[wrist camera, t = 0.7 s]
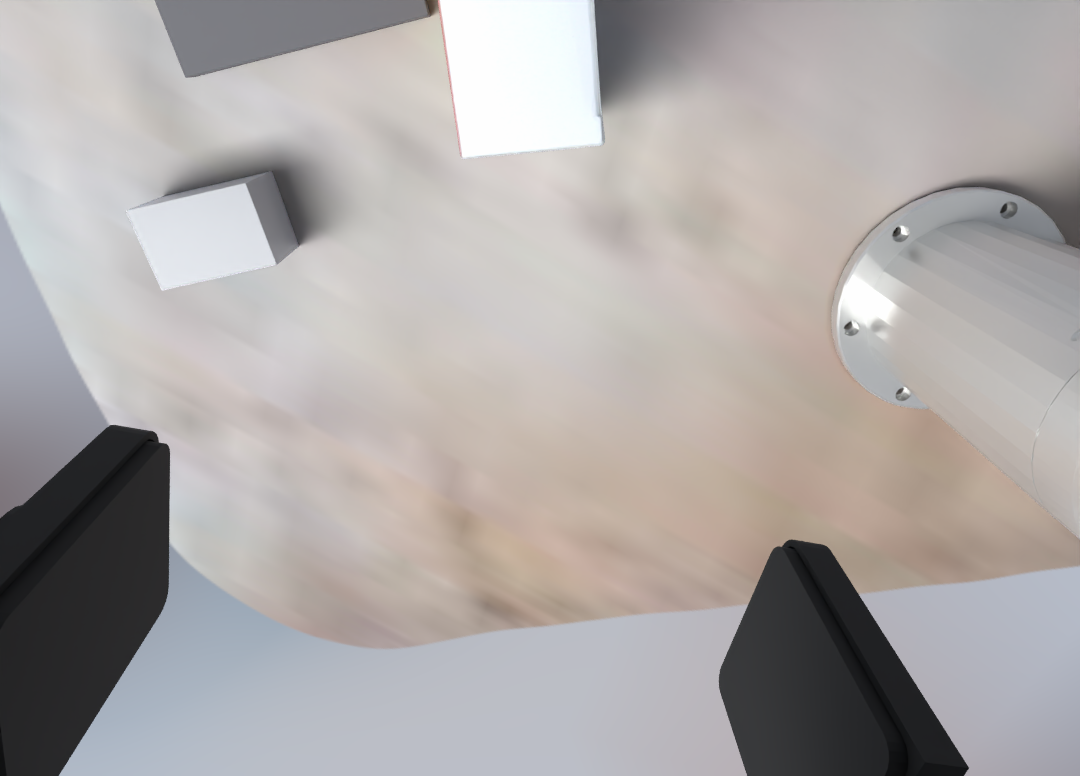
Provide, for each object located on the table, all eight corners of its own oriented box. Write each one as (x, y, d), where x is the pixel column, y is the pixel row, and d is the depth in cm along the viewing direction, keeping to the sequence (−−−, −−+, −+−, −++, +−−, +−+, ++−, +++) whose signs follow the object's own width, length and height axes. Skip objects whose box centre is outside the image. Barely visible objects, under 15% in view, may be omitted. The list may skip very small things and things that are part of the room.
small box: (452, -49, 33) (421, -91, 24) (573, -62, 33) (591, -110, 23) (475, 134, 37) (457, 162, 27) (585, 123, 36) (606, 147, 27)
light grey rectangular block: (272, 170, 37) (245, 182, 34) (299, 245, 39) (276, 264, 35) (163, 195, 38) (125, 211, 34) (195, 268, 39) (161, 290, 36)
